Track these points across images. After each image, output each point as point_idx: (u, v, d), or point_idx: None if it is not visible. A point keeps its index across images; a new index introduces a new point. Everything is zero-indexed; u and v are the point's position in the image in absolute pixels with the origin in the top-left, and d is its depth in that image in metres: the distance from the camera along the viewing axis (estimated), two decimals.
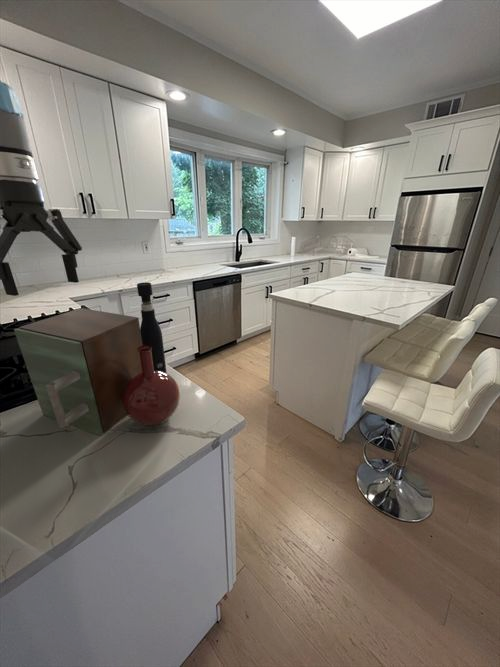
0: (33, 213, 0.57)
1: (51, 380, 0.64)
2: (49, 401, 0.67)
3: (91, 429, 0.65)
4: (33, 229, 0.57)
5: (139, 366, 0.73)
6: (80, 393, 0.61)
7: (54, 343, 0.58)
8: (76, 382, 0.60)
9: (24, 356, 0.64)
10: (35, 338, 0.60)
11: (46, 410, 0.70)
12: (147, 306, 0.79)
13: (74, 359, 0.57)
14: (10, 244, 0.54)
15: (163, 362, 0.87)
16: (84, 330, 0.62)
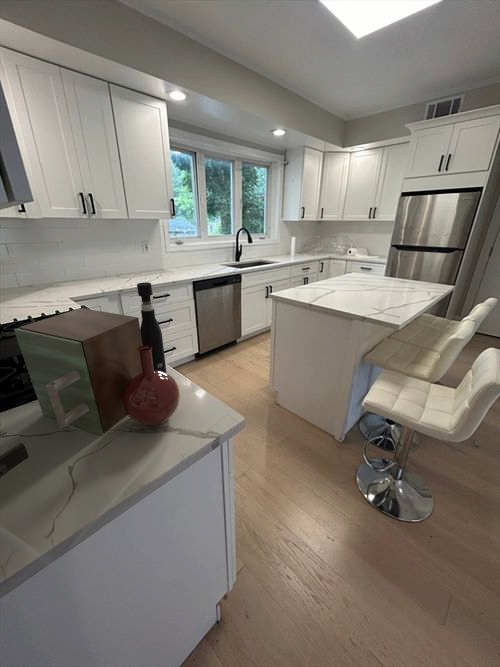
0: None
1: (51, 380, 0.64)
2: (49, 401, 0.67)
3: (91, 429, 0.65)
4: None
5: (139, 366, 0.73)
6: (80, 393, 0.61)
7: (54, 343, 0.58)
8: (76, 382, 0.60)
9: (24, 356, 0.64)
10: (35, 338, 0.60)
11: (46, 410, 0.70)
12: (147, 306, 0.79)
13: (74, 359, 0.57)
14: None
15: (163, 362, 0.87)
16: (84, 330, 0.62)
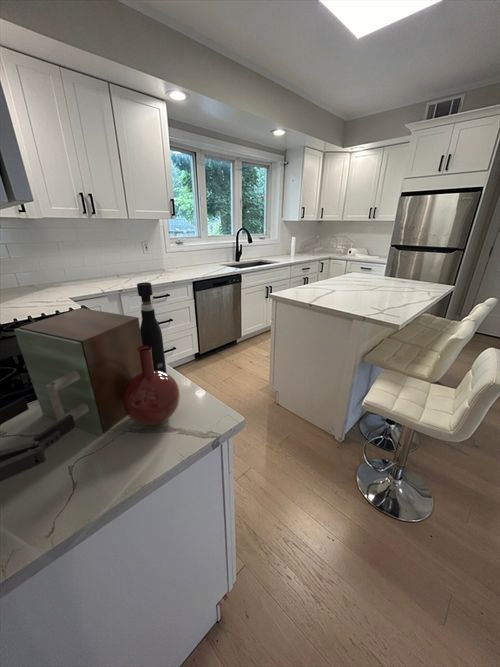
0: None
1: (51, 380, 0.64)
2: (49, 401, 0.67)
3: (91, 429, 0.65)
4: None
5: (139, 366, 0.73)
6: (80, 393, 0.61)
7: (54, 343, 0.58)
8: (76, 382, 0.60)
9: (24, 356, 0.64)
10: (35, 338, 0.60)
11: (46, 410, 0.70)
12: (147, 306, 0.79)
13: (74, 359, 0.57)
14: (6, 450, 0.44)
15: (163, 362, 0.87)
16: (84, 330, 0.62)
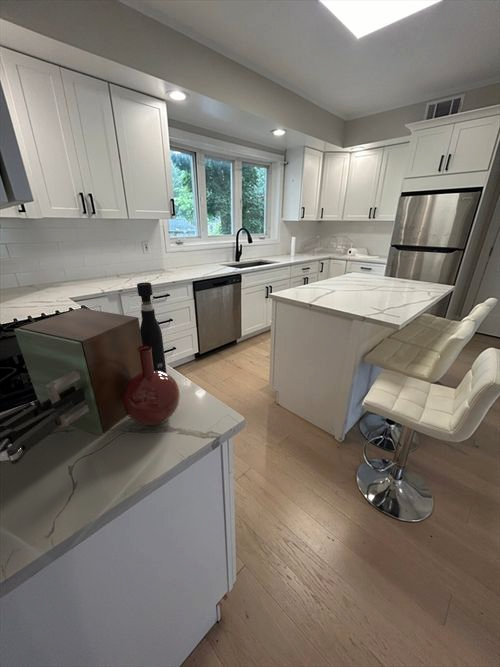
0: None
1: (51, 380, 0.64)
2: None
3: (91, 429, 0.65)
4: None
5: (139, 366, 0.73)
6: None
7: (54, 343, 0.58)
8: (76, 382, 0.60)
9: (24, 356, 0.64)
10: (35, 338, 0.60)
11: None
12: (147, 306, 0.79)
13: (74, 359, 0.57)
14: (29, 421, 0.50)
15: (163, 362, 0.87)
16: (84, 330, 0.62)
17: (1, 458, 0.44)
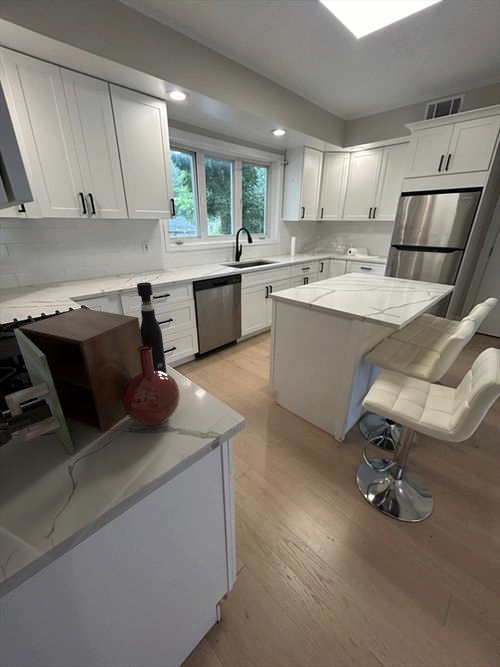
0: None
1: None
2: None
3: (65, 445, 0.60)
4: None
5: (139, 366, 0.73)
6: (52, 406, 0.57)
7: (30, 350, 0.55)
8: (48, 394, 0.56)
9: (23, 356, 0.64)
10: (22, 342, 0.58)
11: None
12: (147, 306, 0.79)
13: (42, 371, 0.53)
14: None
15: (163, 362, 0.87)
16: (84, 330, 0.62)
17: None
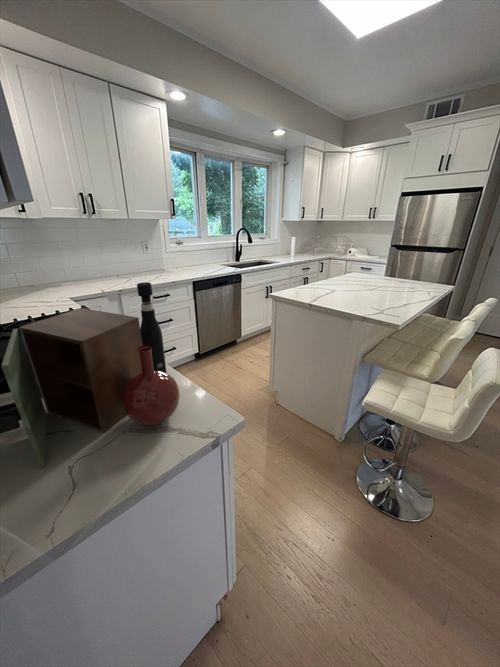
0: None
1: None
2: None
3: None
4: None
5: (139, 366, 0.73)
6: None
7: None
8: None
9: None
10: None
11: None
12: (147, 306, 0.79)
13: None
14: None
15: (163, 362, 0.87)
16: (84, 330, 0.62)
17: None
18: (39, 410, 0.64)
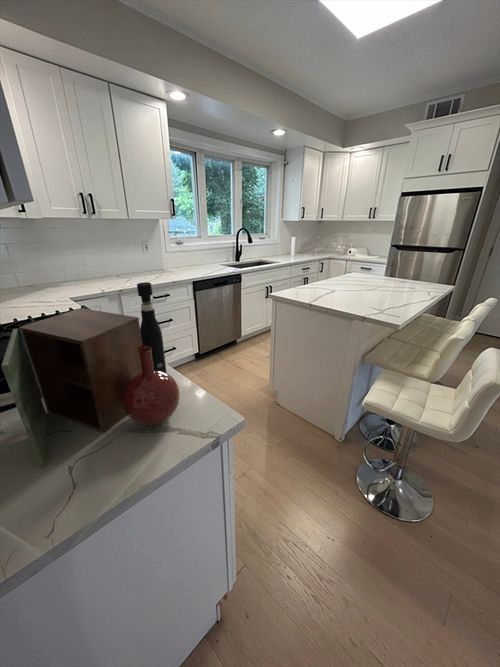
0: None
1: None
2: None
3: None
4: None
5: (139, 366, 0.73)
6: None
7: None
8: None
9: None
10: None
11: None
12: (147, 306, 0.79)
13: None
14: None
15: (163, 362, 0.87)
16: (84, 330, 0.62)
17: None
18: (39, 410, 0.64)
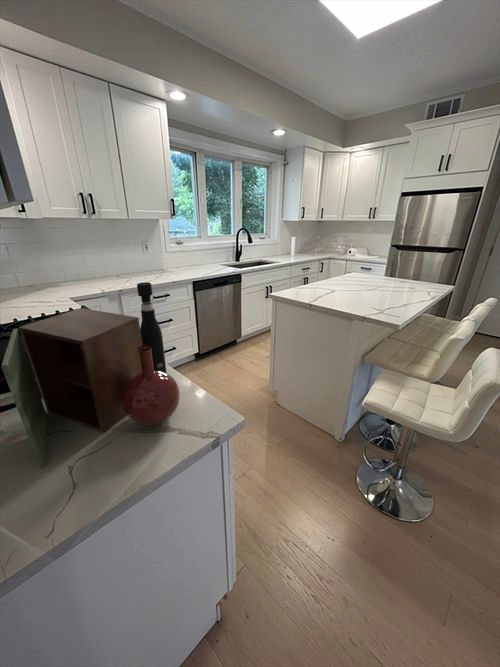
0: None
1: None
2: None
3: None
4: None
5: (139, 366, 0.73)
6: None
7: None
8: None
9: None
10: None
11: None
12: (147, 306, 0.79)
13: None
14: None
15: (163, 362, 0.87)
16: (84, 330, 0.62)
17: None
18: (39, 410, 0.64)
